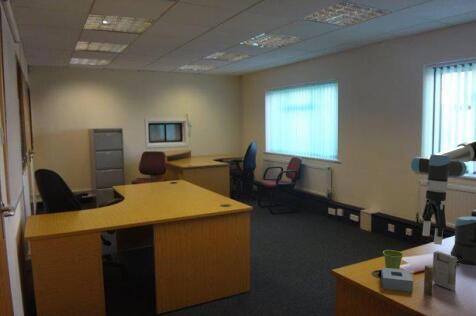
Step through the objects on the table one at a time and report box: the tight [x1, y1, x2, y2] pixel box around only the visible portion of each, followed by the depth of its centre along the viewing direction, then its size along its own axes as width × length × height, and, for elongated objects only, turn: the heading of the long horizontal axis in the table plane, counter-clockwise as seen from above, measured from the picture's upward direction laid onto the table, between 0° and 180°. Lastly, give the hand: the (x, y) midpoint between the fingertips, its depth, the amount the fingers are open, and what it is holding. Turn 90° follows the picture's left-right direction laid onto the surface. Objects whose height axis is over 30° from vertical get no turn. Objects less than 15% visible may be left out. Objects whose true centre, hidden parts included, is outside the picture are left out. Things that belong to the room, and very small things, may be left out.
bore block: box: [380, 267, 414, 293], centre depth 166 cm, size 12×12×5 cm
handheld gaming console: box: [432, 250, 458, 291], centre depth 163 cm, size 9×4×15 cm, turn 28°
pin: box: [423, 265, 434, 296], centre depth 157 cm, size 3×3×12 cm
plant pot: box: [382, 249, 404, 269], centre depth 182 cm, size 9×9×9 cm
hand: (431, 239), depth 156 cm, fingers open, 13 cm apart
